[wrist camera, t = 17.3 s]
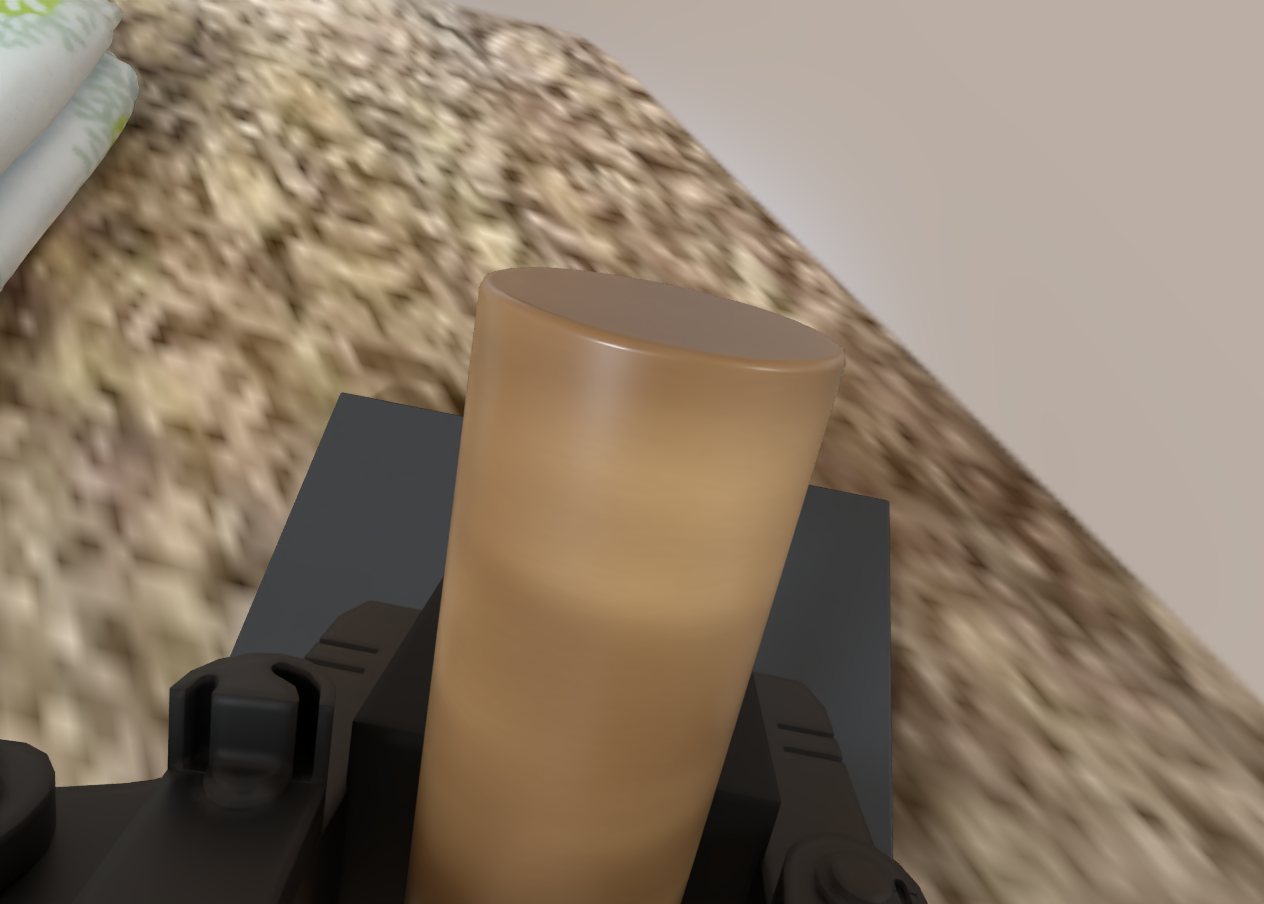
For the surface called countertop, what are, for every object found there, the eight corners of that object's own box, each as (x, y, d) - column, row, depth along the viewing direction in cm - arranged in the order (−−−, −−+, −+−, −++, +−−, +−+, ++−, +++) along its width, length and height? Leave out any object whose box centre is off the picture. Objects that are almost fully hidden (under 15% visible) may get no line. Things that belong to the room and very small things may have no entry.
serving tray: (873, 516, 22) (890, 499, 21) (872, 1562, 13) (902, 1626, 12) (349, 412, 22) (340, 391, 21) (-59, 1414, 12) (-113, 1466, 11)
